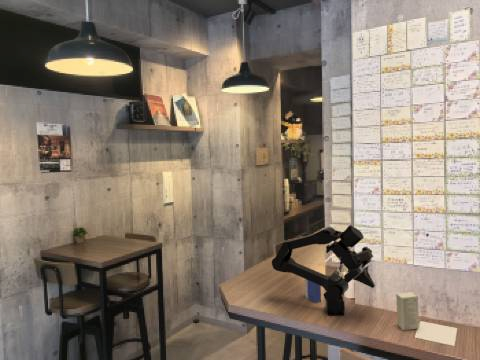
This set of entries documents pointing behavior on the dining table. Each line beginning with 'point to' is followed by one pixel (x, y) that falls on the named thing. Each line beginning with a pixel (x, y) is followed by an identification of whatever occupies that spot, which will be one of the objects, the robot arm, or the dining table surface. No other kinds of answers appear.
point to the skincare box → (407, 310)
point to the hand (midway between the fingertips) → (374, 286)
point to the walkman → (312, 291)
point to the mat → (436, 333)
